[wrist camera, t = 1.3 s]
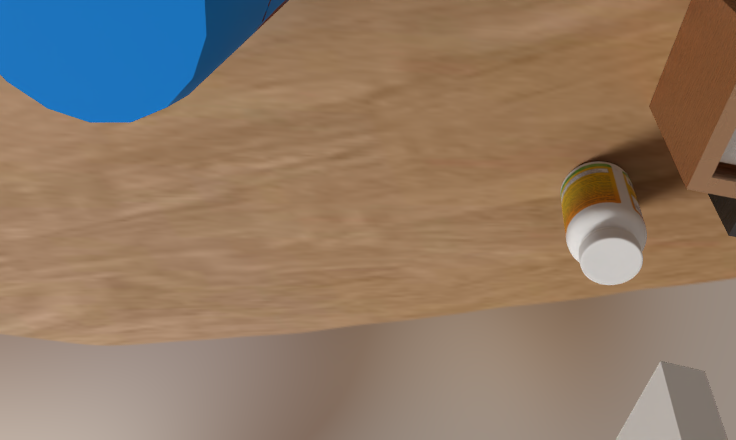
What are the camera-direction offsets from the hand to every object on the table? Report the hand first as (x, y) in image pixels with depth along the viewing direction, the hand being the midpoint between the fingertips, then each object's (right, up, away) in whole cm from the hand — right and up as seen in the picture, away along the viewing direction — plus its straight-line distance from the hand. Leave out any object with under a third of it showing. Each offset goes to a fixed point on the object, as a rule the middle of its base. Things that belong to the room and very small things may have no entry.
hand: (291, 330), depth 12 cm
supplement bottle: (+19, +5, +39) cm, 44 cm away
